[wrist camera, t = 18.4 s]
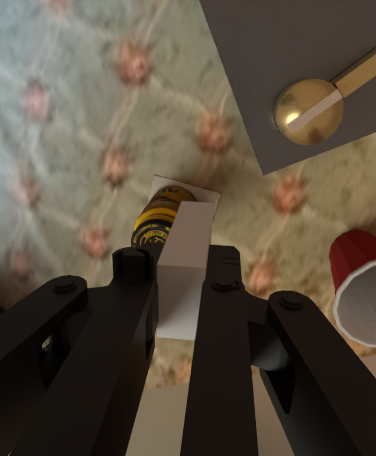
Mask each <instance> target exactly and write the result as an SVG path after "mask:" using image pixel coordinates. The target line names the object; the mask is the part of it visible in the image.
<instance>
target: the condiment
mask: <svg viewBox="0 0 376 456" xmlns="http://www.w3.org/2000/svg"><path fill="white" fill-rule="evenodd" d="M220 195H221V193H218V192H214V191H210V190H206V189H203V188H199V187H195V186H192V185H189V184H185V183H182V182H178V181H174V180H171V179H167V178H163V177H159V176H155V175H154V177H153V181H152V186H151V191H150V195H149V200H148V204H147V206H146V207H145V208H144V211H143V212H142V213H141V215H140V216H139V217H138V219H137V222H136V224H135V227H134V232H133V234H132V238H131V247H139V246H141V245H143V244H144V243H146V242H162V243H166V240H167V238H168V235H169V232H170V230H171V227H172V225H173V222H174V220H175V217H176V215H177V212H178V209H179V207H180V204H181V202H182V201H189V202H198V201H199V202H206V203H213V216H212V222H213V218H214V215H215V212H216V208H217V205H218V202H219V198H220Z"/></svg>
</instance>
